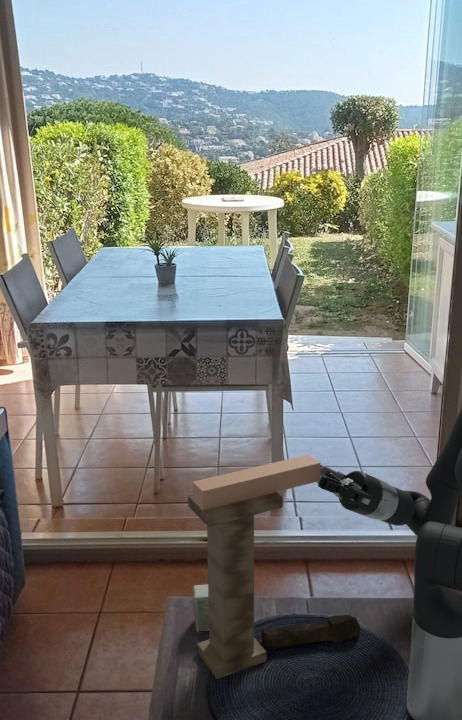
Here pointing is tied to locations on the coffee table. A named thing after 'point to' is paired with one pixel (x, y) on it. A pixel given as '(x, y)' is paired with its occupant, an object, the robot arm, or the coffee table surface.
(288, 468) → the bar
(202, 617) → the small box
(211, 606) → the stand
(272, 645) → the hand tool
